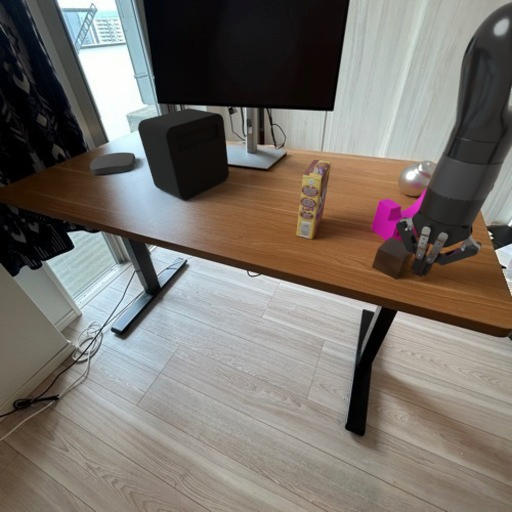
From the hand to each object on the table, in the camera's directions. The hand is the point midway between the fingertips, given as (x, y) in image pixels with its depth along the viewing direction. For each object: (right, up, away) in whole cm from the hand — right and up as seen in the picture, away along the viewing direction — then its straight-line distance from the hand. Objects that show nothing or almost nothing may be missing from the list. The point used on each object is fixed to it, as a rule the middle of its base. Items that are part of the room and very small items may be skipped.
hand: (418, 273), depth 50 cm
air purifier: (-51, +26, +37) cm, 68 cm away
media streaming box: (-83, +37, +51) cm, 104 cm away
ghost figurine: (+14, +21, +26) cm, 36 cm away
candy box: (-17, +10, +15) cm, 25 cm away
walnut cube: (-4, +1, +4) cm, 5 cm away
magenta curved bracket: (+5, +10, +14) cm, 18 cm away
